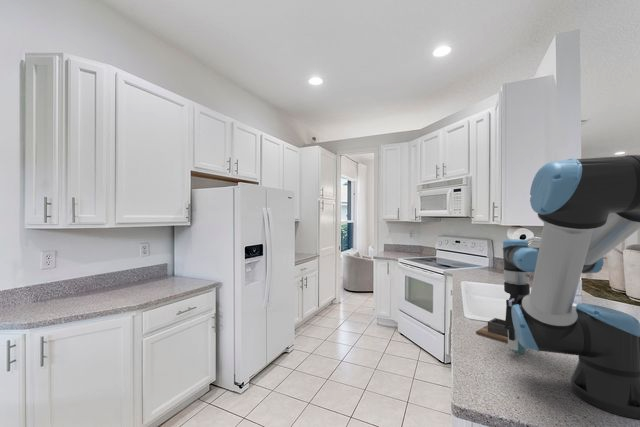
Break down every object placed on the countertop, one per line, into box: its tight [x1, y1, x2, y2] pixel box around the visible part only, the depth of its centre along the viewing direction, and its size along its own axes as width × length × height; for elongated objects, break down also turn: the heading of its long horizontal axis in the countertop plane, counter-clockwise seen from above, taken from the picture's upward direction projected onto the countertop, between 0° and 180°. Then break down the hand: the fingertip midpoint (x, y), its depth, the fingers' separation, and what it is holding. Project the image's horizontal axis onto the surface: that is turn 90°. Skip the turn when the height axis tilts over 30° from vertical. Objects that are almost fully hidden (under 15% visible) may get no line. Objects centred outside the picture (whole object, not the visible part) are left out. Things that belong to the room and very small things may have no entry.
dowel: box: [511, 341, 527, 355], centre depth 99 cm, size 4×4×14 cm
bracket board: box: [475, 317, 508, 345], centre depth 113 cm, size 14×12×5 cm
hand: (518, 344), depth 98 cm, fingers open, 10 cm apart
